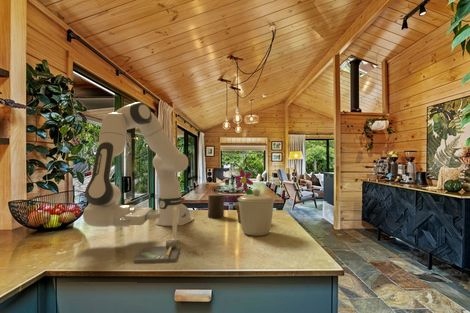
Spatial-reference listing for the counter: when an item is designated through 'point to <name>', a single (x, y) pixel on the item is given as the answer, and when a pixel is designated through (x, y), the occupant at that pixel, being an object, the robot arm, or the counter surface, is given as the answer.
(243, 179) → the flowerpot
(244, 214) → the canister
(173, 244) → the upright cream panel
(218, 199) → the pillar candle
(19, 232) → the counter surface
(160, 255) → the dial board
